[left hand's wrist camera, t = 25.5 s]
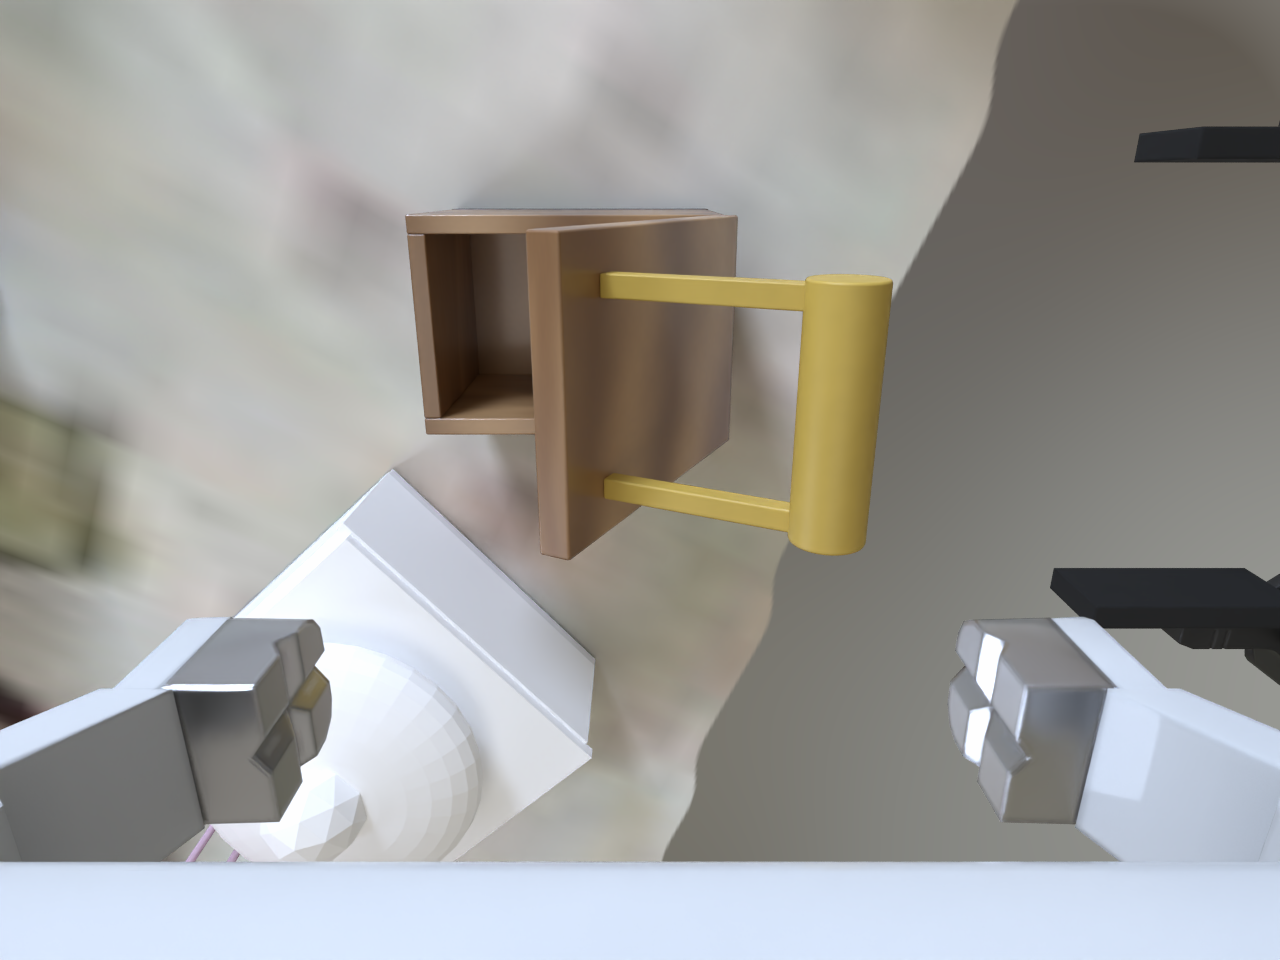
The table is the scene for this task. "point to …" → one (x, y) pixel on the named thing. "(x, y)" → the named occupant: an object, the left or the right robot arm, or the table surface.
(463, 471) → the table surface
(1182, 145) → the right robot arm
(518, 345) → the chest
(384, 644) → the butter dish
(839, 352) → the lid
